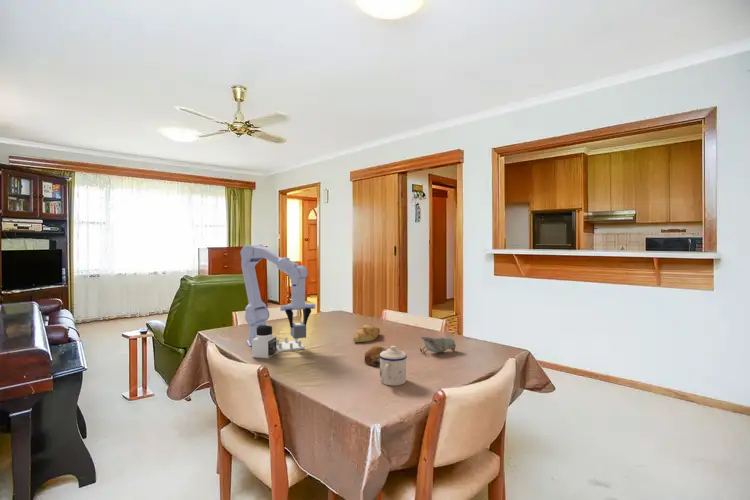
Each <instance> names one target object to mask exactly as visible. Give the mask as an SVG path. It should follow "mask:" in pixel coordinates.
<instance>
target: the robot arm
mask: <svg viewBox="0 0 750 500" xmlns="http://www.w3.org/2000/svg"><path fill="white" fill-rule="evenodd" d="M239 254H240V258H241V264H240V266H241V270H242V271H241V272H242V276H243V281H244V286H245V291H246V296H247V303H248V304H247V305H246V306H245V308H244V312H245V314H244V318H245V321H246V323H247V325H248V339H247V340H246V343H247V344H248V347H252V340H253V339H255V338H257V327H258V326H260V325H267V321H268V320H269V318H270V311H269V309H268V308H267V305H266V303H265V302H264V301H262V297H261V292H260V287H259V283H258V279H257V278H258V277H257V273H256V268H255V267H256V265H257V264H258V263H259V262H260V261H261V260H262V259H266V260H267V261H269V262H271V263H273V264H274V265H276V267H277V269H278V270H279V271H281V272H283V273H284V274H286V275H288V277H289V280H290V285H291V292H290V295H291V296H290V297H291V298H290V301H291V302H290V303H291V304H286V305H280V311H281V312H285V314H286V316H287V319H288V323H289V327H290V329H291V328H293V323H294V322H293V321H294V319H293V318H294V312H293V311H297V310H299V311H300V310H302V313H303V318H302V319H303V320H302V323H304V324H305V325H306V326H307V323H308V320H309V317H310V315H311V313H312V310H315V309H316V303H306V278H307V277H308V275H309V272H308V271H309V270H308V269H307V267H306V266H305V265H299V263H297V262H294V261H293V260H291V259H290V258H291V257H288V256H287V257H280V256H279V255H277V254H276V253H275V252H273V251H272V250H271V249H269V247H267V246H265V245H263V244H245V245H243V246H242V248H241V250H240V253H239Z"/></svg>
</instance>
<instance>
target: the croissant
mask: <svg viewBox="0 0 750 500" xmlns="http://www.w3.org/2000/svg"><path fill="white" fill-rule="evenodd" d="M355 332H356V333H355V334H354V336H353V339H352V341H353V342H354V343H363V342H371V341H374V340H376V339H377V338H378V336H379V334H380V333H381V328H379V327H376V326H375V325H373V324H371V323H369V324H366V323H365V324H364V325H361V326H360V327H358V329H357V330H356V331H355Z"/></svg>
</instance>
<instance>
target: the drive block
mask: <svg viewBox="0 0 750 500" xmlns="http://www.w3.org/2000/svg"><path fill="white" fill-rule="evenodd" d="M289 334H290V336H291V337H292V338H293V339H294V340H295V339H297V338H298V339H306V338H307V324H306V325H305V324H304V323H303V321H301V322H293V328H291V327H290V333H289Z"/></svg>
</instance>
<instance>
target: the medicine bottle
mask: <svg viewBox="0 0 750 500" xmlns="http://www.w3.org/2000/svg"><path fill="white" fill-rule="evenodd" d="M276 340H277V336H275V335H273V326H271V325H270V324H266V325H260V326H258V327H257V338H255V339H253V340H252V346H251V349H252V350H251V351H252V352H251V357H252V358H257V359H270V358H271V357H273V356H274V355H276V354H277V349H276Z"/></svg>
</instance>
